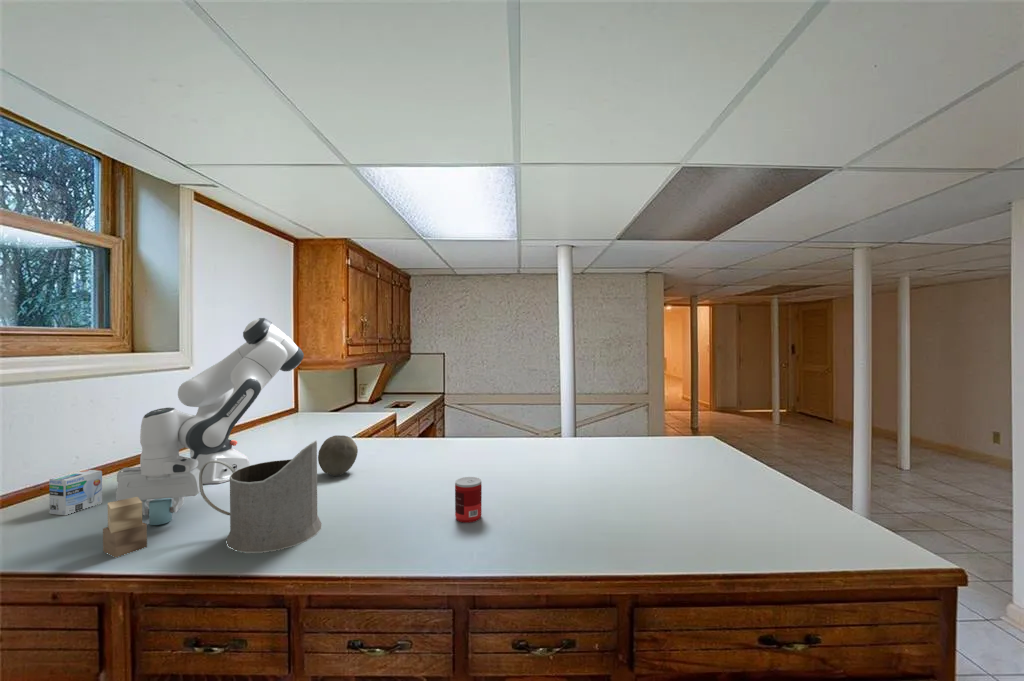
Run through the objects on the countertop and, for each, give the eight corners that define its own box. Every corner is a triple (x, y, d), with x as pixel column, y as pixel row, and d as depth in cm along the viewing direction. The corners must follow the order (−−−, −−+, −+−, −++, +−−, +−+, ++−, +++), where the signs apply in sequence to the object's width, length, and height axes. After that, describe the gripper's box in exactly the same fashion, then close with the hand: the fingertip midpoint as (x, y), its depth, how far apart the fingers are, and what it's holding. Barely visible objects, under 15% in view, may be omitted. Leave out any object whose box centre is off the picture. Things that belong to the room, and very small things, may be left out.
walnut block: (134, 541, 121) (133, 519, 121) (146, 547, 118) (146, 523, 118) (103, 552, 115) (102, 528, 115) (115, 558, 112) (115, 533, 112)
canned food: (485, 514, 139) (485, 478, 139) (474, 524, 131) (474, 486, 131) (462, 511, 141) (462, 475, 141) (450, 521, 134) (450, 483, 134)
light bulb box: (65, 516, 138) (65, 480, 138) (48, 514, 139) (47, 479, 139) (103, 503, 148) (103, 470, 148) (87, 501, 150) (86, 468, 150)
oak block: (138, 519, 121) (137, 496, 121) (142, 525, 117) (142, 502, 116) (107, 526, 116) (107, 502, 116) (111, 533, 112) (110, 508, 112)
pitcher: (301, 552, 115) (300, 452, 115) (170, 555, 114) (169, 454, 113) (333, 515, 138) (332, 432, 138) (224, 517, 137) (224, 433, 136)
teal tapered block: (167, 516, 136) (167, 496, 136) (175, 520, 133) (174, 499, 133) (146, 522, 132) (145, 501, 132) (153, 526, 129) (153, 505, 129)
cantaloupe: (349, 480, 172) (349, 440, 171) (311, 480, 172) (311, 440, 171) (362, 469, 186) (362, 432, 185) (327, 469, 186) (327, 432, 186)
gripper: (110, 471, 126) (111, 521, 127) (196, 465, 132) (196, 513, 132) (122, 465, 132) (123, 512, 133) (204, 459, 138) (204, 505, 138)
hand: (160, 513), depth 132 cm, fingers closed on teal tapered block, 5 cm apart
